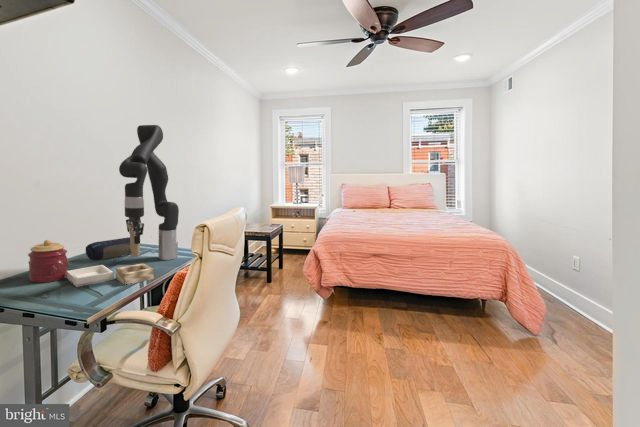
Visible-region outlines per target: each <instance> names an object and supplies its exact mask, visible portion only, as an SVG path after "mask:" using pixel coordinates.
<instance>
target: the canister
mask: <svg viewBox="0 0 640 427" xmlns="http://www.w3.org/2000/svg"><path fill="white" fill-rule="evenodd" d="M64 248H65V245H64V244H61V243H59V242H52V240H50V239H46V240H44V241H43V243H38V244H36V245H34V246H33V247H30V249H29V250H30V251H31V252H29V253H27V256H28V257H29V260H28V269H29V274H28V277H29V278H28V279H29V281H30V282H32V283H39V284H43V283H52V282H57V281H60V280H63V279H65V278H67V274H66V271H69V270H68V268H67V260H68V257H67V255H66V254H67V252H68V250H66V249H64Z"/></svg>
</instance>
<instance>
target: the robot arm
mask: <svg viewBox="0 0 640 427" xmlns="http://www.w3.org/2000/svg"><path fill="white" fill-rule="evenodd" d="M136 134H137V138H138V142H139V144H138V145H137V146H136V147H135V148H134V149H133V150H132V153H131V154H130V155H129V156H128V157H126V158H125V159H124V160H123V161H122V162H121V163H120V165H119V168H118V170H119V174H120V176H122V177H124V178H129V179H130V178H131V179H133V178H134V179H136V180H135V181H134V182H129V183H128V182H127V183H125V185H124V217H125V218H128V219H126V220H125V225H126V230H127V233H129V237H131V230H130V228H128V227H127V224H131V225H132V226H133V227H132V231H134V243H135V244H140V245H141V236H143V234H144V228H145V223H142V221H141V218H142V217H144V216H145V200H144V183H145V180H146V176H147V174H148V178H149V181H150V185H151V191H152V194H153V203H154V210H155V213H156V215H157V216H159V217H162V218H164V219H163V222H162V223H159V224H158V259H159V260H161V261H171V260H174V259H177V258H178V257H179V255H178V254H179V253H178V251H179V242H178V241H177V228H178V224H179V214H180V212H179V211H180V210H179V206H178V204H177V203H176V202H173V201H168V199H167V195H166V188H167V186H168V183H169V174H168V170H167V167H166V165H165V163H164V162H163V161H162V160H161V159H160V158H159V157H158V156H157V154H155V152H154V151H155V150H156V149H157V147H159V146H160V144H161V143H162V142H163V139H164V133H163V129H162V127H161V126H160V125H157V124H143V125H138V126H137V129H136ZM134 226H135V227H137V229H134ZM138 232H139V233H138Z"/></svg>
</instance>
